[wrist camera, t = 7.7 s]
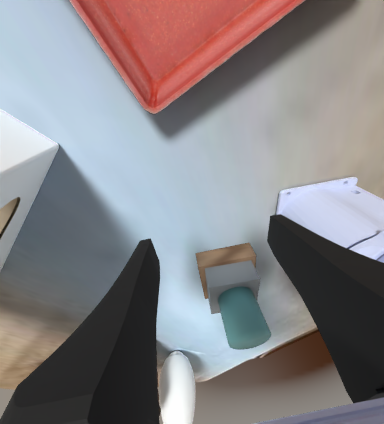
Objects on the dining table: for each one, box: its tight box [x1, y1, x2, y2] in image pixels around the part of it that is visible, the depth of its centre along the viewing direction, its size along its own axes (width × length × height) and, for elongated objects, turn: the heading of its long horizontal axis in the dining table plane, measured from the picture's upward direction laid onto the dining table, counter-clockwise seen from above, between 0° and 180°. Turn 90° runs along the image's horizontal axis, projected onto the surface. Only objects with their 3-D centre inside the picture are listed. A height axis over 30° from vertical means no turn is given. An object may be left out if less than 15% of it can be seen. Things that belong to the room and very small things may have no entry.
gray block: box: [205, 260, 260, 314], centre depth 25 cm, size 6×6×3 cm
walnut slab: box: [196, 243, 256, 299], centre depth 28 cm, size 8×8×3 cm
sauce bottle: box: [159, 351, 195, 424], centre depth 38 cm, size 8×8×18 cm
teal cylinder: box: [218, 287, 271, 349], centre depth 22 cm, size 5×5×5 cm
